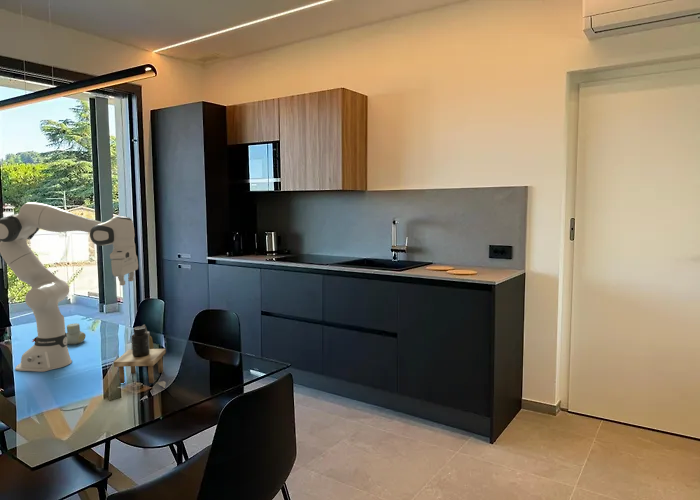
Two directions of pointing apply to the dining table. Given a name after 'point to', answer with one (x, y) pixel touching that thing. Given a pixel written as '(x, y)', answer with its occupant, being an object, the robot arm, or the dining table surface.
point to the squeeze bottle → (149, 339)
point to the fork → (162, 383)
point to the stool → (140, 363)
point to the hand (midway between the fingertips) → (127, 283)
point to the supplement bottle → (140, 342)
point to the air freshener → (74, 334)
